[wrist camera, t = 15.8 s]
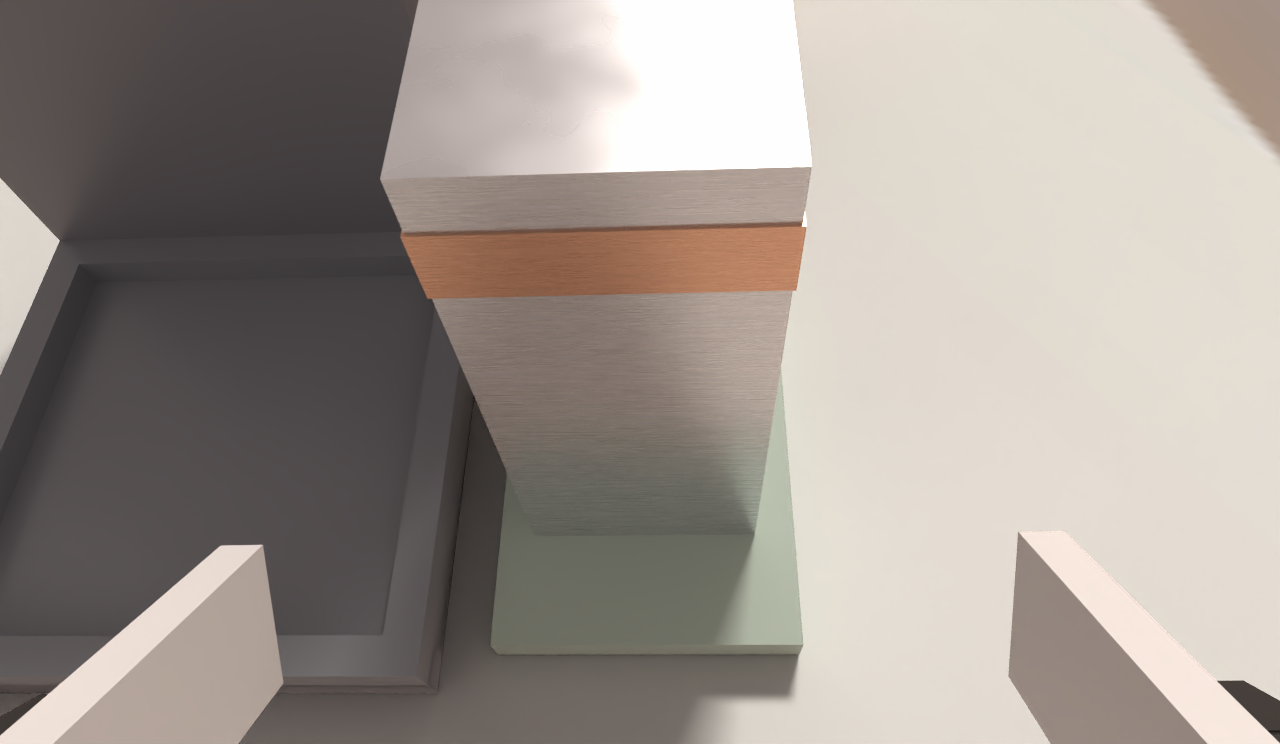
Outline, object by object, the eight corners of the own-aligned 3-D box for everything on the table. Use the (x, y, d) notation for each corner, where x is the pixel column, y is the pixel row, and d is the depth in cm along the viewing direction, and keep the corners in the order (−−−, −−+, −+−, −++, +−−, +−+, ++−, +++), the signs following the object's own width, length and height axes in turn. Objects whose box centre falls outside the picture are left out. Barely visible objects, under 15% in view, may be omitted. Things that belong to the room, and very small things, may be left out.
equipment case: (-74, 692, 24) (-1075, 410, 11) (105, 250, 32) (-336, -242, 18) (437, 693, 24) (74, 390, 10) (492, 240, 31) (334, -281, 18)
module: (532, 537, 25) (375, 181, 13) (547, 349, 28) (433, -79, 16) (756, 536, 24) (815, 169, 12) (745, 345, 27) (784, -95, 15)
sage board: (497, 654, 24) (490, 644, 23) (531, 290, 30) (526, 272, 29) (798, 654, 24) (803, 645, 23) (770, 285, 30) (773, 266, 29)
